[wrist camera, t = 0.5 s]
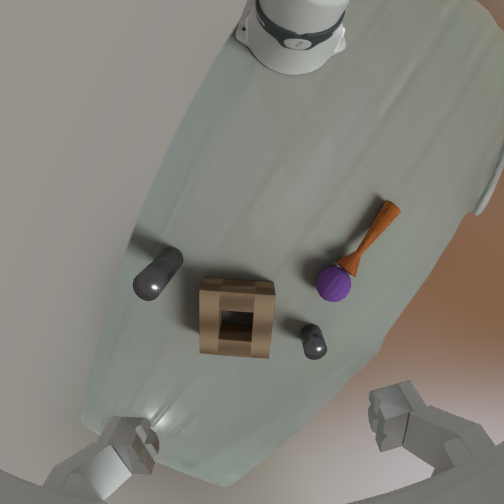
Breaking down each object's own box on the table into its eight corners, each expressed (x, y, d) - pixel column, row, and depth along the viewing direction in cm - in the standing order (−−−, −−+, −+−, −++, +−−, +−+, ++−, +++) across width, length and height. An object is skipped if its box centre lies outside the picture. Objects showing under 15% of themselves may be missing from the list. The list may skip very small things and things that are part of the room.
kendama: (412, 220, 47) (340, 313, 50) (393, 213, 53) (327, 298, 56) (393, 198, 45) (317, 296, 48) (374, 192, 51) (304, 282, 54)
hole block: (205, 277, 54) (199, 289, 49) (273, 282, 54) (275, 295, 49) (204, 336, 58) (199, 353, 52) (267, 340, 58) (268, 358, 52)
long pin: (161, 246, 53) (132, 271, 40) (183, 248, 53) (159, 274, 40) (161, 268, 54) (133, 299, 41) (183, 270, 54) (160, 302, 41)
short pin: (301, 324, 57) (306, 340, 51) (322, 324, 57) (328, 340, 51) (299, 342, 58) (302, 359, 52) (319, 342, 58) (324, 359, 52)
